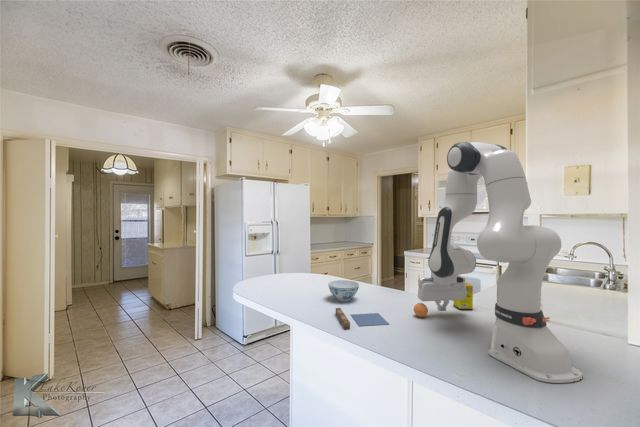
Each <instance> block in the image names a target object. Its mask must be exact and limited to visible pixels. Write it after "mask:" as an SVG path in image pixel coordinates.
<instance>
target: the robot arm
mask: <svg viewBox="0 0 640 427" xmlns="http://www.w3.org/2000/svg"><path fill="white" fill-rule="evenodd" d="M446 162H447V166H448V167H449V169H450V170H449V171H448V173H447V177H446V182H445V183H446V184H445V191H444V192H445V197H444V203H443V206H442V208H441V209H440V210H439V211H438V214H437V216H436V223H435V229H434V236H433V240H432V245H431V251H430V254H429V257H428V267H429V270H430V277H422V278H421V279H419V281H418V288H417V289H418V290H417V299H419V301H421V302H434V303H435V305H436V307H437V311H439V312H446V311H447V307H448V305H449V304H450V301H454V300H464V299H465V298H466V296H467V291H466V285H465V284H464V283H465V282H466V277H464V276H462V275H466V274H471V273H473V272H474V271H475V270H476V266H477V259H476V256H475V255H474V253H473V252H472V251H470V250H469V249H465V248H463V247H461V246H459V245H458V244H457V243H455V242H454V240H453V239H451V238H452V232H453V229H454V227H455V226H456V224H458V223H459V222H460V221H461V220H463V219H466V218H468V217H470V216H471V215H472V214H473V213H474V212H475V210H476V208H477V206H478V204H477V203H478V183H479V180H480V178H482V177H483V179H484V185H485V186H484V187H485V190H486V196H487V202H488V203H487V204H488V218H487V222H486V225H485V227H484V228H483V230H481V231H480V233H479V234H478V236H477V239H476V246H477V250H478V252H479V254H480V255H481V256H482V257H483V259H485V260H488V261H491V262H492V261H493V262H496V263H503V264H505V263H508V265H507V267H506V269H505V270H504V272H502V274H500V275H498V278H497V280H496V303H495V305H494V316H495V322H494V325H493V329H492V338H491V344H490V345H489V346H490V347H489V350H488V355H489V356H491V357H493V359H494V358H495V359H496V360H498V361H501V362H503V363H504V364H506V365H508V366H509V367H512V368H514V369H515V370H517V371H519V372H521V373H523V374H525V375H526V376H528V377H531V378H533V379H534V380H536V381H539V382H544V383H553V384H566V383H573V382H574V381H575V382H578V381H580V379H581V380H582V379H583V378H584V374H583V371H581V370H579V369H578V368H576V367H575V366H573V365H572V361H571V355H570V352H569V350H568V348H567V347H566V346H565V345H564V344H563V343H562V341H560V339H558V337H557V336H556V335H555V334H554V332H552V330H550V328H548V326H547V322H550V320H549V319H550V317H545V315H544V312H543V310H542V309H541V306H542V305H541V304H542V285H543V280H544V277H545V275H546V272H547V270H548V267H549V265H550V263H551V261H552V260H553V259H554V258H555V257H556V256H557V255H558V254H559V253H560V252H561V249H562V239H561V238H560V236H559V234H558V233H557V232H556V231H555V230H554V229H552V228H548V227H546V226H545V227H544V226H541V225H533V224H532V225H524V214H525V211H526V210H528V209H529V208H530V206H531V205H532V198H531V194H530V191H529V186H528V182H527V178H526V175H525V171H524V167H523V165H522V163H521V161H520V159H519V157H518V155H517V153H516V152H515V151H514V150H511V149H508V148H507V147H505V146H503V145H500V144H493V143H486V142H483V141H481V142H480V141H473V142H472V141H469V142H468V141H461V142H457V143H454V144H453V145H452V146H451V147H450V148H449V150H448V152H447V157H446ZM441 301H442V302H443V304H442V305H441V303H442V302H441ZM582 377H583V378H582Z"/></svg>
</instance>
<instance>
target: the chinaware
mask: <svg viewBox="0 0 640 427" xmlns="http://www.w3.org/2000/svg"><path fill="white" fill-rule="evenodd" d="M359 286H360V284H359V282H356V281H353V280H347V279H344V280H343V279H341V280H340V279H339V280H338V279H337V280H331V281H330V282H328V289H329V292H330V293H331V295H332V296H333V297H334V298H336V300H337V301H339V302H343V303H345V302H346V303H347V302H350V301H351V299H352V298H353V297H355V295H357V293H358V291H359V289H360V288H359Z"/></svg>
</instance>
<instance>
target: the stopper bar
mask: <svg viewBox="0 0 640 427" xmlns="http://www.w3.org/2000/svg"><path fill="white" fill-rule="evenodd" d="M335 316H336V317H337V319H338V321H339V323H340V325H342V328H343V329H344V330H351V322H350V320H349V319H348V317H347V315H346V314H345V313H344V312H343V310H342V309H341V307H336V308H335Z"/></svg>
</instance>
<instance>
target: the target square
mask: <svg viewBox="0 0 640 427" xmlns="http://www.w3.org/2000/svg"><path fill="white" fill-rule="evenodd" d="M350 316H351V318H352V319H353V320H354V322H355V323H356V324H357V326H358V327H373V326H387V325H390V323H389V322H388V321H387V320H386V319H385V318H384V317H383V316H382V315H381V314H380V313H378V312H376V313H375V312H374V313H371V312H370V313H357V314H355V313H354V314H350Z"/></svg>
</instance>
